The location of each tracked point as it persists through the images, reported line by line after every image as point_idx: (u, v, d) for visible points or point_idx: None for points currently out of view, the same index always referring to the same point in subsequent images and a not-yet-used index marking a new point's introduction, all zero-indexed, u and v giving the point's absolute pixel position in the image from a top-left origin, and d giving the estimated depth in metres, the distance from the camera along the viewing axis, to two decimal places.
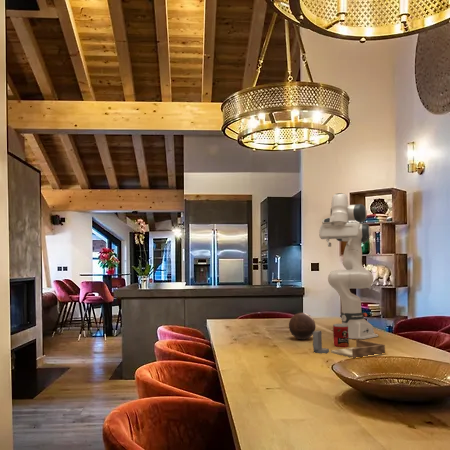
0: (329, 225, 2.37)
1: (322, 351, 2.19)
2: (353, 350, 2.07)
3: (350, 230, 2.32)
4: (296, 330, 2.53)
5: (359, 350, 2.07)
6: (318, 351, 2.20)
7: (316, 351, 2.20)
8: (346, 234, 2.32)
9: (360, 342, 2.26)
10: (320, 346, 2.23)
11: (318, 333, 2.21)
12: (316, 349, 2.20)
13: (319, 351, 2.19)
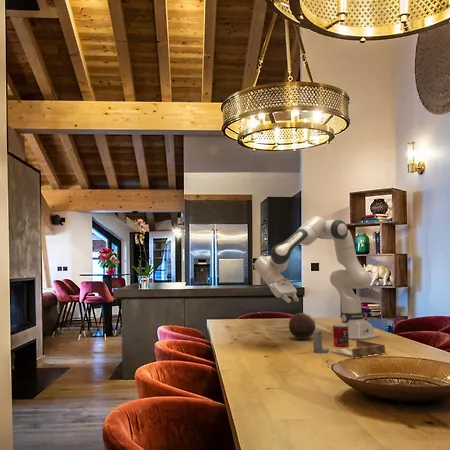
0: None
1: (322, 351, 2.19)
2: (353, 350, 2.07)
3: None
4: (296, 330, 2.53)
5: (359, 350, 2.07)
6: (318, 351, 2.20)
7: (316, 351, 2.20)
8: None
9: (360, 342, 2.26)
10: (320, 346, 2.23)
11: (318, 333, 2.21)
12: (316, 349, 2.20)
13: (319, 351, 2.19)
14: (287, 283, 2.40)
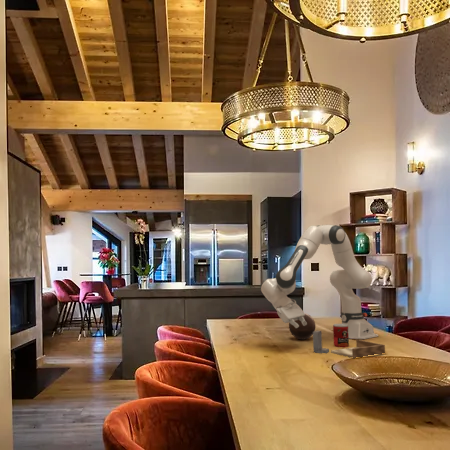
0: None
1: (322, 351, 2.19)
2: (353, 350, 2.07)
3: None
4: (296, 330, 2.53)
5: (359, 350, 2.07)
6: (318, 351, 2.20)
7: (316, 351, 2.20)
8: None
9: (360, 342, 2.26)
10: (320, 346, 2.23)
11: (318, 333, 2.21)
12: (316, 349, 2.20)
13: (319, 351, 2.19)
14: (295, 306, 2.36)
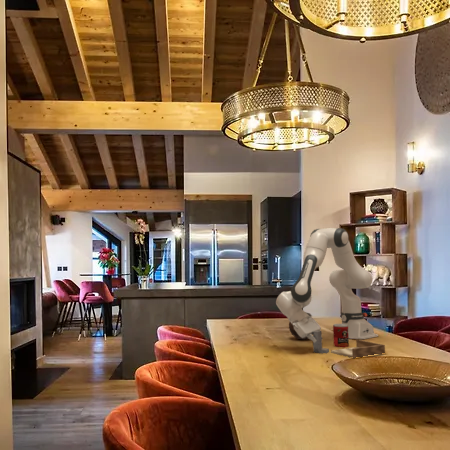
0: None
1: (322, 351, 2.19)
2: (353, 350, 2.07)
3: None
4: None
5: (359, 350, 2.07)
6: (318, 351, 2.20)
7: (316, 351, 2.20)
8: None
9: (360, 342, 2.26)
10: (320, 346, 2.23)
11: (318, 333, 2.21)
12: (316, 349, 2.20)
13: (319, 351, 2.19)
14: (311, 320, 2.31)
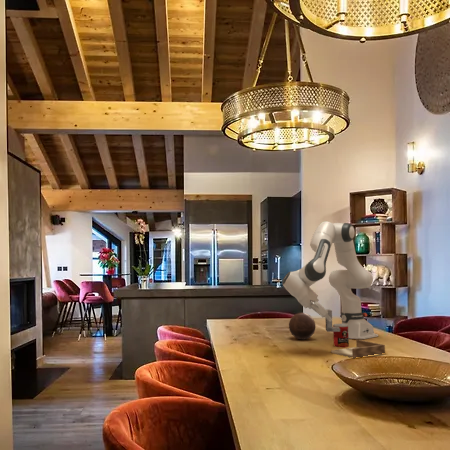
0: None
1: (337, 329, 2.17)
2: (353, 350, 2.07)
3: None
4: (296, 330, 2.53)
5: (359, 350, 2.07)
6: (332, 330, 2.18)
7: (330, 330, 2.18)
8: None
9: (360, 342, 2.26)
10: None
11: None
12: (330, 328, 2.18)
13: (333, 329, 2.18)
14: None
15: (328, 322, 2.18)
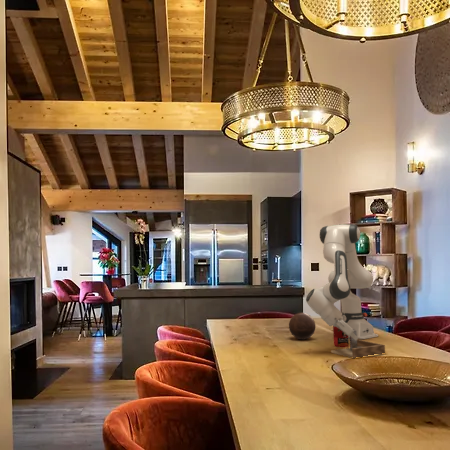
0: None
1: None
2: (353, 350, 2.07)
3: (342, 330, 2.14)
4: (296, 330, 2.53)
5: (359, 350, 2.07)
6: None
7: None
8: None
9: (360, 342, 2.26)
10: None
11: None
12: None
13: None
14: None
15: (353, 342, 2.16)
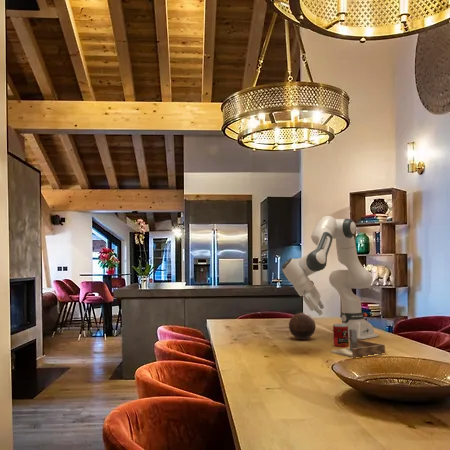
0: None
1: None
2: (353, 350, 2.07)
3: None
4: (296, 330, 2.53)
5: (359, 350, 2.07)
6: None
7: None
8: None
9: (360, 342, 2.26)
10: None
11: None
12: None
13: None
14: (313, 288, 2.29)
15: (353, 342, 2.16)
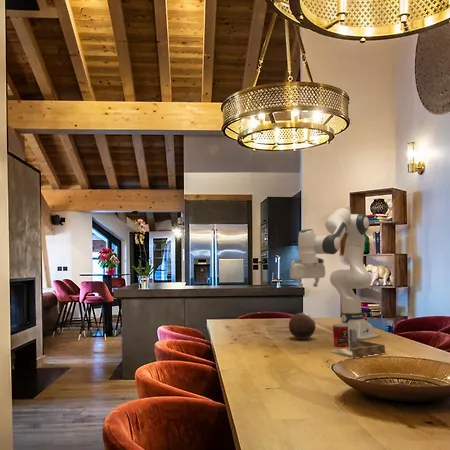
0: None
1: None
2: (353, 350, 2.07)
3: None
4: (296, 330, 2.53)
5: (359, 350, 2.07)
6: None
7: None
8: None
9: (360, 342, 2.26)
10: None
11: None
12: None
13: None
14: (318, 266, 2.35)
15: (353, 342, 2.16)
